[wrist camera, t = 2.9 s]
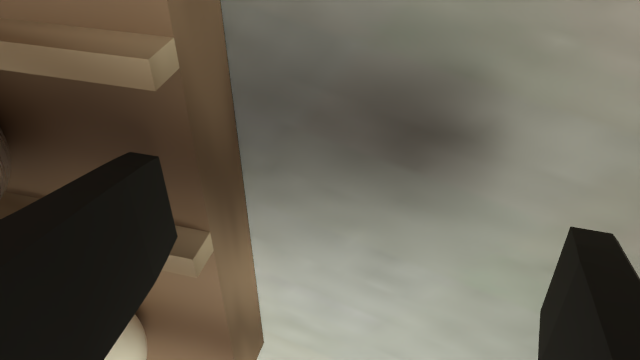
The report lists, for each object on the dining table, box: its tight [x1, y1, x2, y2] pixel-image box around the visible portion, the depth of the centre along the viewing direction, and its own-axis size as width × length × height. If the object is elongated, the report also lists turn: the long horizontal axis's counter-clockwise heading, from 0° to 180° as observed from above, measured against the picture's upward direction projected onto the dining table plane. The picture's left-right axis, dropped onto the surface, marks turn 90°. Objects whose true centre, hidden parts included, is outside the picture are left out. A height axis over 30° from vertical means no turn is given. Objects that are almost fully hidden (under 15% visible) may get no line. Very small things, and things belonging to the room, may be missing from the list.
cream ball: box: [104, 315, 147, 360], centre depth 15 cm, size 3×3×3 cm
